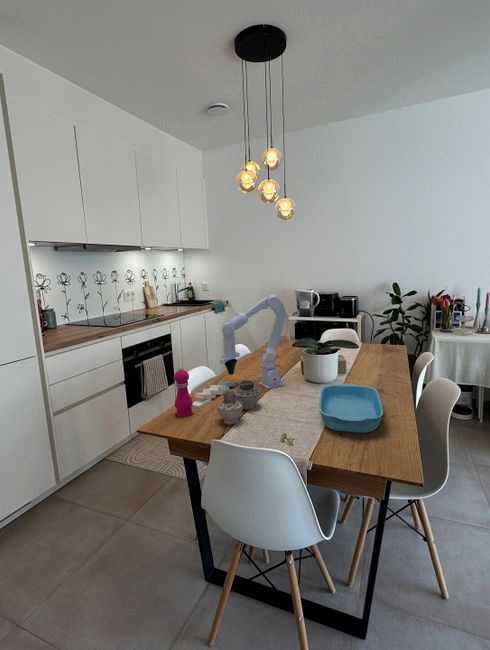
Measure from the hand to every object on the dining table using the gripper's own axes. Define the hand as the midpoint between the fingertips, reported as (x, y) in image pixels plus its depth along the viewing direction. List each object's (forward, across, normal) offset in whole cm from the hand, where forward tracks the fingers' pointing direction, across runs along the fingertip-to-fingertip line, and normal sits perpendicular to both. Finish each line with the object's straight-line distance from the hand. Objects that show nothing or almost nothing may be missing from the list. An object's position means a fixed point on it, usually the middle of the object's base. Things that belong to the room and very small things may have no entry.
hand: (231, 374), depth 172 cm
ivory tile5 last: (+6, +20, 0) cm, 21 cm away
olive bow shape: (+7, +38, +46) cm, 60 cm away
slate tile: (+5, 0, 0) cm, 5 cm away
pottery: (+6, +26, +20) cm, 33 cm away
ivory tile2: (+5, +6, 0) cm, 8 cm away
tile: (+5, +11, 0) cm, 12 cm away
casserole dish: (+6, +10, +60) cm, 61 cm away
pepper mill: (+6, +36, 0) cm, 36 cm away
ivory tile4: (+5, +16, 0) cm, 17 cm away
